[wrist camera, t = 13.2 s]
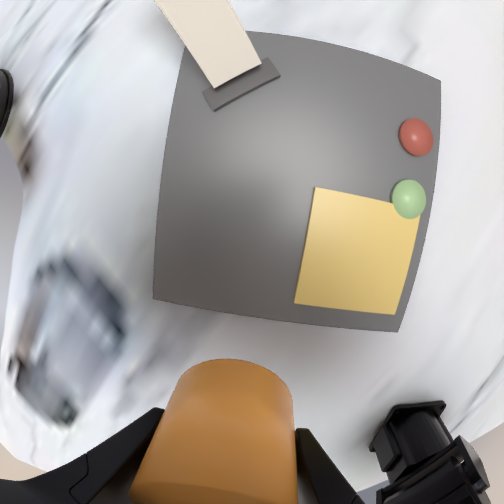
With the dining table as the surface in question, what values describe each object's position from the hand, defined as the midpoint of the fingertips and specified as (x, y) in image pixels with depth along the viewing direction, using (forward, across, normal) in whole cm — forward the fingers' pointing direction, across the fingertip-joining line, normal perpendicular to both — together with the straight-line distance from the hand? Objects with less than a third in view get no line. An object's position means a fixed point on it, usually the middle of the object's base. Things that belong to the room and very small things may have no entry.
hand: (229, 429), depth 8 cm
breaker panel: (+11, -2, -9) cm, 14 cm away
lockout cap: (+1, 0, 0) cm, 1 cm away
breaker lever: (+10, +2, -14) cm, 17 cm away
